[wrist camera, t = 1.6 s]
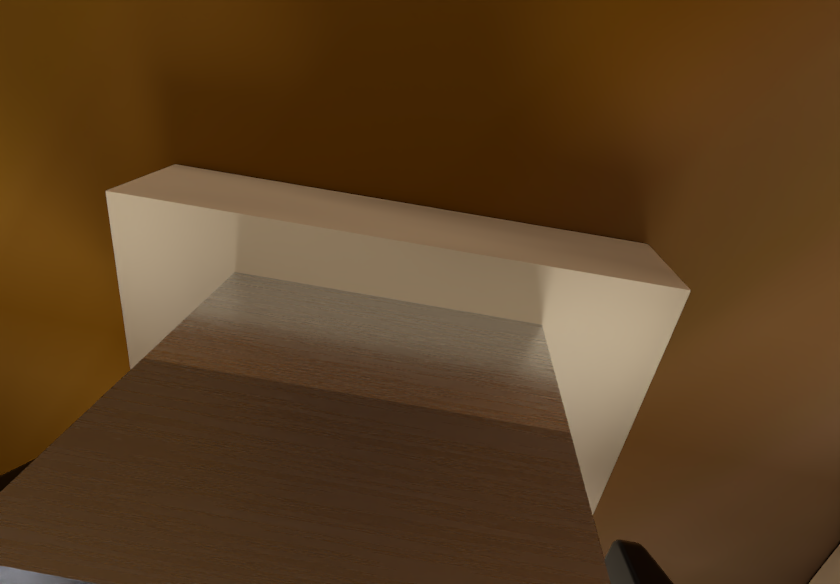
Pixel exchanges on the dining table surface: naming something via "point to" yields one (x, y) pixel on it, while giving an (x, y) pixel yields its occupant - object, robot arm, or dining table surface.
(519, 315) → the stand
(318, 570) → the block
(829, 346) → the dining table surface
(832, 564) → the stand
